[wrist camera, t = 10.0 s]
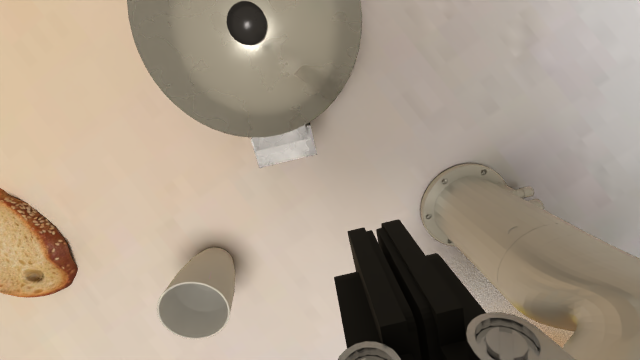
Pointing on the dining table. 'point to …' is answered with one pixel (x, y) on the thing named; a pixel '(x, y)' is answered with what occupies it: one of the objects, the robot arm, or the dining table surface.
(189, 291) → the cup
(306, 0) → the lid
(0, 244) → the slice of bread
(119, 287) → the dining table surface
